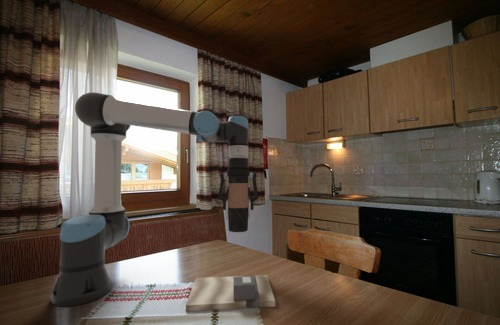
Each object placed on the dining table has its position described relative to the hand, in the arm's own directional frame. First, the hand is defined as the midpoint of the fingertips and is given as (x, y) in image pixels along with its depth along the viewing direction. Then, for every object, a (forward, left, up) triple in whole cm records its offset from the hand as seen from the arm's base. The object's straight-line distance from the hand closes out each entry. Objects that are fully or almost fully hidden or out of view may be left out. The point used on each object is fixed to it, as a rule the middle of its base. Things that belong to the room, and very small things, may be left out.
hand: (238, 218), depth 93 cm
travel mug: (0, 0, -4) cm, 4 cm away
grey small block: (+1, -21, -18) cm, 28 cm away
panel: (-3, -16, -20) cm, 26 cm away
